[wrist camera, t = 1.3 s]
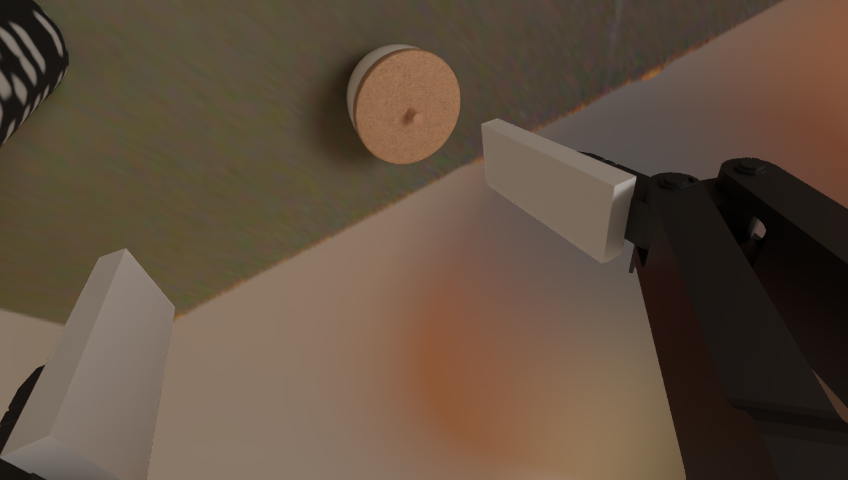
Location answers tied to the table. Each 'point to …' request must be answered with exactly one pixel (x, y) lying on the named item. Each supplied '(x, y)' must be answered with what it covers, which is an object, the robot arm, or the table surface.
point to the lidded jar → (403, 102)
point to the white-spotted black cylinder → (27, 62)
